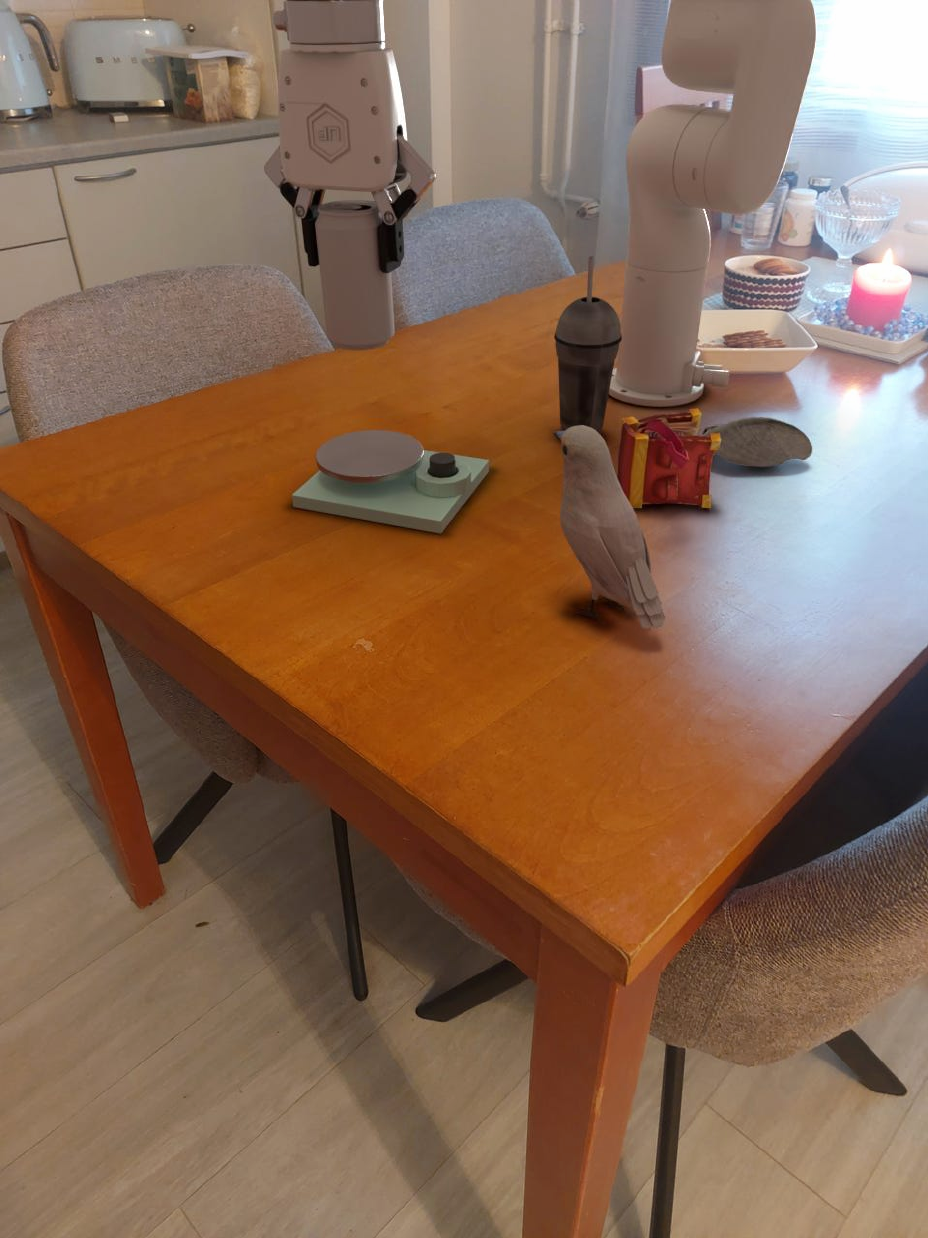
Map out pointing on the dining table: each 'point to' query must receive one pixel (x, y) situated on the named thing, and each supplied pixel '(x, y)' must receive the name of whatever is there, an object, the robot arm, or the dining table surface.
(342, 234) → the beverage can
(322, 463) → the scale pan
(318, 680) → the dining table surface
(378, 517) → the scale
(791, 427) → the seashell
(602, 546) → the bird
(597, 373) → the beverage cup
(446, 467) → the button
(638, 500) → the book monster
